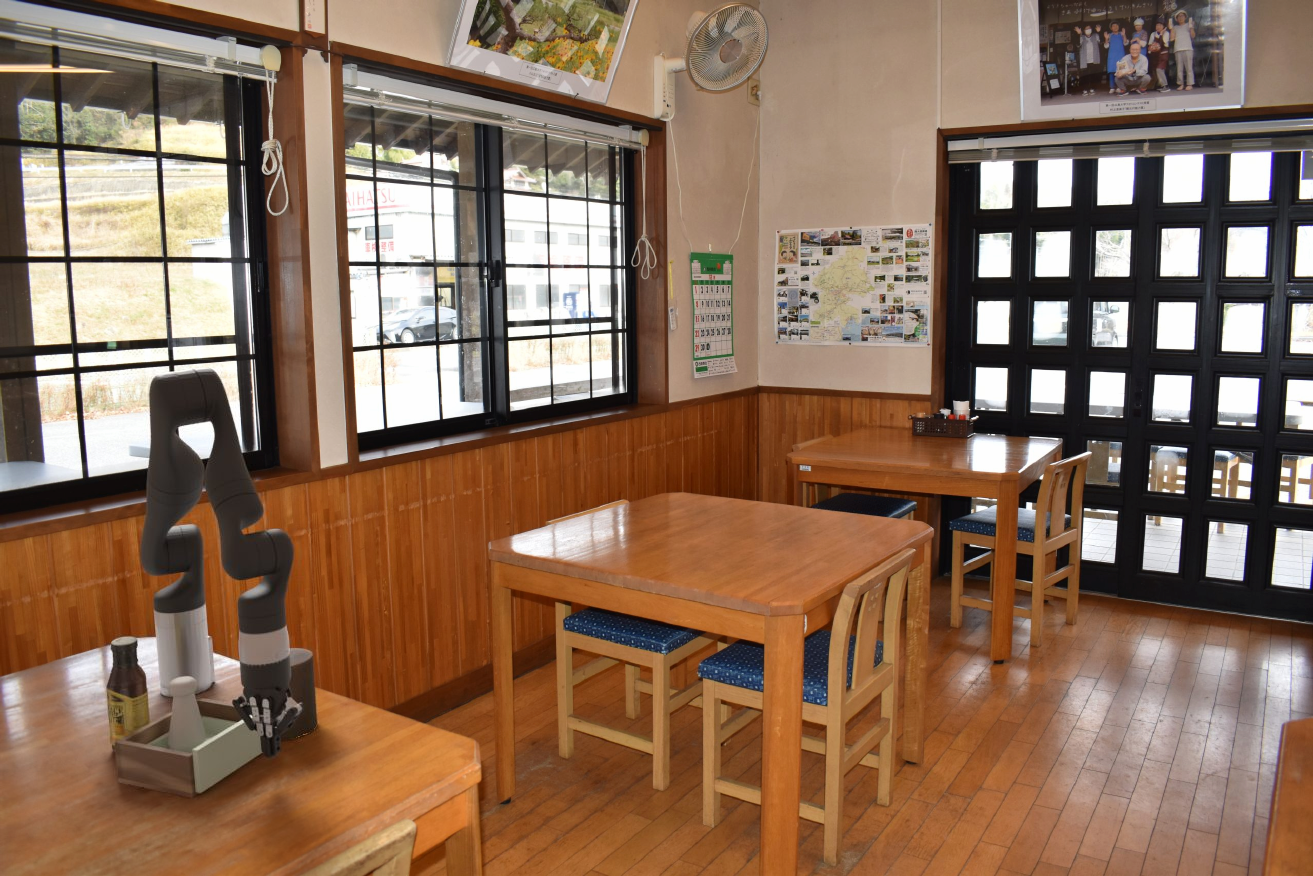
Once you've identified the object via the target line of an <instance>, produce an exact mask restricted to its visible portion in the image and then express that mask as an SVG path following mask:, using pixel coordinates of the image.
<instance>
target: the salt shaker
mask: <svg viewBox="0 0 1313 876" xmlns="http://www.w3.org/2000/svg"><path fill="white" fill-rule="evenodd" d="M196 689H197V681H196V679H194V678H193V677H190V676H184V677H178V678H176V679H174V680H172V681H171V682H170V683H169V693H170V695H171V696H173V697H172V707H171V712H172V715H171V723H170V731H169V738H168V745H169V747H170V748H171V749H172V750H177V751H182V752H187V753H192V754H193V752H192V749H194V748H196V747H197V746H199V745H201V744H202V743H204V741H205V738H206V732H205V729H204V725H203V722H202V719H201V715H200V712H199V708H198V705H197V701H196V698H197V697H196V694H195V695H194V692H195V691H196Z"/></svg>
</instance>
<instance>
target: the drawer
mask: <svg viewBox="0 0 1313 876" xmlns="http://www.w3.org/2000/svg"><path fill="white" fill-rule="evenodd" d="M250 717H251V719H252V720H253V717H252V715H250ZM201 719H202V722H203V725H204V729H205V732H206V738H205V741H204V743H202V744H201V745H199V746H197V747H196V748H194V749H192V752H193V765H194V778H195V790H196V792H198V793H199V794H201V793H203V792H205V791H206V790H208V789H209V788H211V787H213V786H214V785H215V784H216V783H218V782H220V781H221V780H224V778H226V777H227V776H229V775H231V774H233V772H235V771H236V770H238V769H240V768H241V767H242V766H244V765H246V764H247V763H248V762H250V761H252V760H254V758H256V757H257V756H259V755H261V754H263V753H262V751H261V740H260V736H259V735H258V733H257V731H255V730H253V731H251V730H249V728H248V727H247V725H246V724H245V722H244V721H243V720H241V721H239V722H234V721H229V720H223V719H217V718H212V717H206V716H201ZM253 722H254V720H253ZM168 738H169V732H168V733H166V734H164V735H162V736H160V737H159V738H157V739H155V740H153V741H151V742H150V743H148V744H146V745H151V746H156V747H161V748H166V749H171V748H170V747H169V745H168Z"/></svg>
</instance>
